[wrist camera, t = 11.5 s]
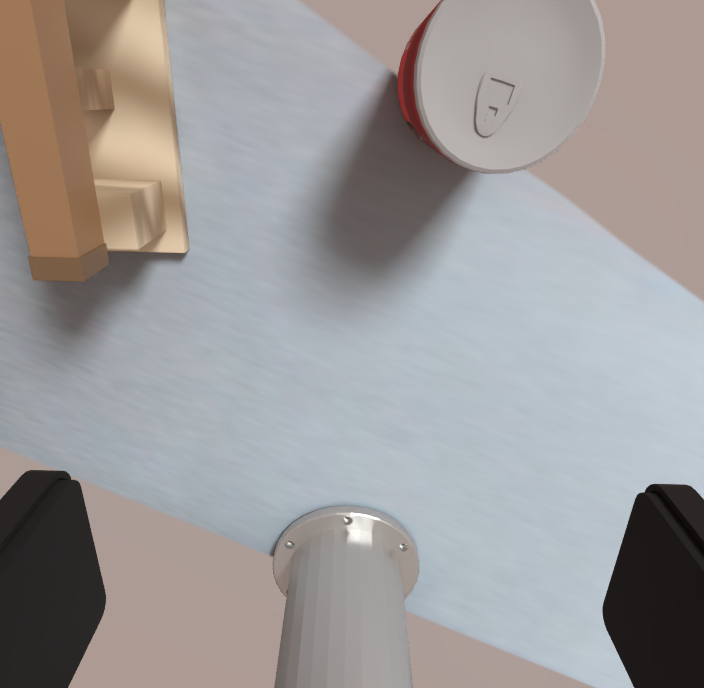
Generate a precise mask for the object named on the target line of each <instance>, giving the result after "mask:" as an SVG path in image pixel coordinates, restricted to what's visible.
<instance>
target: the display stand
mask: <svg viewBox="0 0 704 688" xmlns="http://www.w3.org/2000/svg"><path fill="white" fill-rule="evenodd" d="M64 6H65V12H66V18H67V23H68V29H69V35H70V41H71V47H72V53H73V59H74V65H75V71H76V77H77V83H78V89H79V95H80V101H81V107H82V113H83V119H84V125H85V131H86V136H87V142H88V148H89V154H90V160H91V166H92V172H93V178H94V184H95V190H96V196H97V202H98V208H99V214H100V220H101V226H102V232H103V238H104V243H106V245H107V251H128V252H168V253H185V252H187V251H188V250H189V241H188V232H187V222H186V212H185V202H184V193H183V183H182V173H181V163H180V154H179V144H178V134H177V124H176V115H175V105H174V95H173V85H172V75H171V66H170V56H169V46H168V36H167V27H166V17H165V7H164V0H64Z"/></svg>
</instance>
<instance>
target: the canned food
mask: <svg viewBox="0 0 704 688" xmlns="http://www.w3.org/2000/svg"><path fill="white" fill-rule="evenodd" d="M604 63H605V35H604V29H603V24H602V18H601V15H600V13H599V10H598V8H597V5H596V3H595V0H441V1H440V2H439V3H438V5H437V6H436V7H435V8H434V9H433V10H432V12H431V13H430V14H429V15H428V16H427V17H426V19H425V20H424V21H423V22H422V23H421V24H420V26H419V27H418V28H417V29H416V30H415V32H414V33H413V35H412V37H411V38H410V40H409V42H408V43H407V45H406V48H405V51H404V53H403V56H402V58H401V63H400V67H399V72H398V96H399V103H400V107H401V110H402V113H403V116H404V118H405V120H406V122H407V123H408V125H409V127H410V129H411V130H412V131H413V132H414V133H415V134H416V136H417V137H418V138H419V139H421V140H422V141H423V142H425V143H426V144H427V145H429V146H430V147H431V148H433V149H434V150H436V151H437V152H438V153H440V154H441V155H443V156H444V157H446V158H447V159H448V160H450V161H451V162H454V163H455V164H457V165H460V166H462V167H464V168H466V169H469V170H471V171H476V172H482V173H487V174H497V173H510V172H515V171H519V170H523V169H526V168H528V167H531V166H533V165H535V164H537V163H540V162H542V161H543V160H545V159H546V158H548V157H549V156H550V155H552V154H553V153H555V152H556V151H558V150H559V149H560V148H561V147H562V146H563V145H564V144H565V143H566V142H567V141H568V140H569V139H570V138H571V137H572V136H573V135H574V133H575V132H576V131H577V129H578V128H579V127H580V125H581V124H582V122H583V121H584V120H585V118H586V116H587V114H588V112H589V110H590V109H591V107H592V105H593V103H594V100H595V98H596V95H597V92H598V89H599V86H600V83H601V80H602V74H603V69H604Z"/></svg>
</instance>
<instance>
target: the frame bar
mask: <svg viewBox="0 0 704 688" xmlns="http://www.w3.org/2000/svg"><path fill="white" fill-rule="evenodd" d="M0 123H1V127H2V132H3V136H4V141H5V145H6V149H7V154H8V158H9V162H10V167H11V171H12V176H13V180H14V184H15V189H16V193H17V198H18V202H19V206H20V211H21V215H22V220H23V224H24V228H25V233H26V237H27V242H28V246H29V250H30V255H31V256H29V257H28V260H29V264H30V269H31V273H32V277H33V280H45V281H86V280H87V279H89V278H90V277H92V276H93V275H95V274H96V273H98V272H99V271H101V270H102V269H104V268H105V267H107V266H108V265H109V264H110V263H109V257H108V251H107V245H106V243H104V238H103V232H102V226H101V220H100V214H99V208H98V202H97V196H96V190H95V184H94V178H93V172H92V166H91V160H90V154H89V148H88V142H87V136H86V131H85V125H84V119H83V113H82V107H81V101H80V95H79V89H78V83H77V77H76V71H75V65H74V59H73V53H72V47H71V41H70V35H69V29H68V23H67V18H66V12H65V6H64V0H0Z"/></svg>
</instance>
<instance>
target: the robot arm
mask: <svg viewBox="0 0 704 688" xmlns="http://www.w3.org/2000/svg"><path fill="white" fill-rule="evenodd" d="M273 574H274V577H275V580H276V583H277V585H278V586H279V588H280V590H281V592H282V593H283V594H284V595H285V596H286V597H287V599H286V607H285V614H284V621H283V628H282V636H281V644H280V650H279V658H278V665H277V673H276V681H275V687H274V688H413V683H412V672H411V663H410V653H409V642H408V632H407V622H406V611H405V601H404V600H405V599H406V597H407V596H408V595H409V594H410V593H411V591H412V590H413V588H414V586H415V584H416V582H417V578H418V574H419V558H418V553H417V548H416V546H415V543H414V541H413V539H412V537H411V536H410V535H409V533H408V532H407V530H406V529H405V528H404V527H402V526H401V525H400V524H399V523H398V522H397V521H395V520H394V519H392V518H390V517H389V516H387V515H385V514H383V513H380V512H377V511H375V510H372V509H367V508H363V507H357V506H335V507H328V508H324V509H320V510H316V511H313V512H311V513H309V514H306V515H304V516H302V517H301V518H299V519H298V520H296V521H295V522H293V523H292V524H291V525H290V526H289V527H288V528H287V529H286V530H285V531H284V533H283V534H282V536H281V537H280V539H279V540H278V543H277V546H276V549H275V553H274V559H273ZM105 604H106V594H105V589H104V585H103V580H102V576H101V572H100V567H99V563H98V559H97V554H96V550H95V546H94V542H93V537H92V533H91V528H90V524H89V520H88V515H87V511H86V507H85V502H84V498H83V494H82V490H81V486H80V483H79V482H78V481H76V480H71V477H70V475H69V474H68V473H67V472H65V471H45V470H30V471H27V472H25V473H24V474H23V475H22V476H21V477H20V478H19V479H18V480H17V481H16V483H15V484H14V485H13V486H12V487H11V488H10V489H9V490H8V492H7V493H6V494H5V495H4V496H3V497H2V498H1V500H0V688H68V686H69V684H70V682H71V680H72V678H73V676H74V674H75V672H76V670H77V668H78V666H79V664H80V662H81V660H82V658H83V656H84V653H85V651H86V649H87V647H88V645H89V643H90V641H91V639H92V637H93V635H94V633H95V631H96V629H97V627H98V625H99V623H100V620H101V618H102V616H103V613H104V609H105ZM603 619H604V623H605V626H606V629H607V631H608V633H609V635H610V637H611V640H612V642H613V644H614V646H615V648H616V650H617V652H618V654H619V656H620V659H621V661H622V663H623V665H624V667H625V669H626V671H627V673H628V675H629V678H630V680H631V682H632V684H633V686H634V688H704V499H703V498H702V497H701V496H700V495H699V494H698V493H697V491H696V490H694V489H693V488H692V487H691V486H688V485H677V484H652V485H649V486H648V487H647V488H646V490H645V493H639V494H638V495H637V497H636V499H635V502H634V505H633V508H632V511H631V515H630V518H629V521H628V525H627V528H626V531H625V534H624V538H623V541H622V544H621V547H620V551H619V554H618V557H617V560H616V564H615V567H614V570H613V574H612V577H611V580H610V583H609V587H608V590H607V593H606V596H605V600H604V603H603Z"/></svg>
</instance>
